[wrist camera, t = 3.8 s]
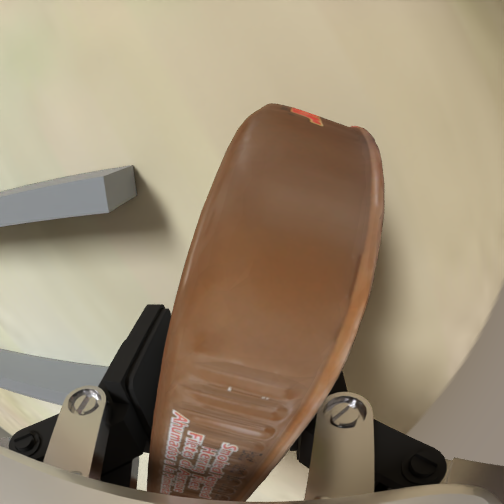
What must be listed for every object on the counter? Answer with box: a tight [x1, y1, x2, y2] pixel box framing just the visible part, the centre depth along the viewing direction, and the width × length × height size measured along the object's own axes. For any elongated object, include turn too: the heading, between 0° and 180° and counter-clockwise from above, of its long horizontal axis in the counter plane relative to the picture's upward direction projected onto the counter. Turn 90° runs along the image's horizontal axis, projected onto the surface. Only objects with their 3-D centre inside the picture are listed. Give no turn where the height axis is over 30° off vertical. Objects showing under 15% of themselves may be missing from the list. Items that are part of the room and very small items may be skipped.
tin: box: [147, 104, 384, 502], centre depth 9 cm, size 15×3×8 cm, turn 164°
